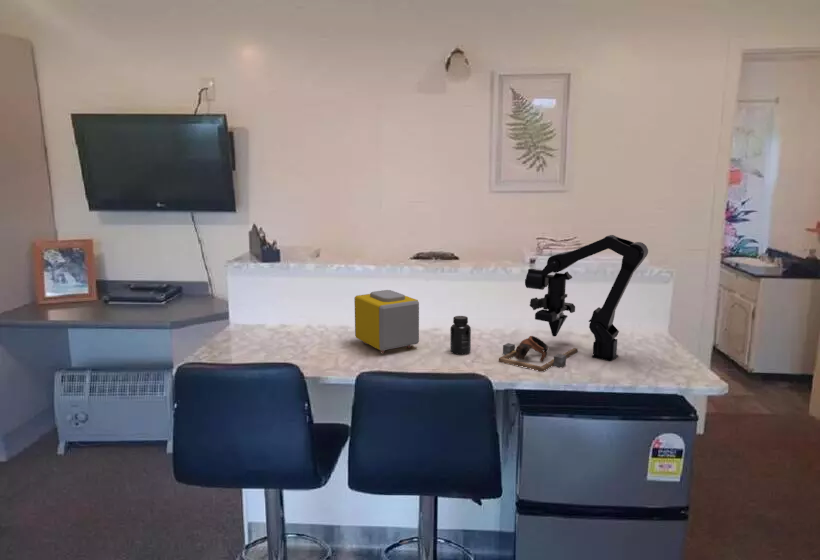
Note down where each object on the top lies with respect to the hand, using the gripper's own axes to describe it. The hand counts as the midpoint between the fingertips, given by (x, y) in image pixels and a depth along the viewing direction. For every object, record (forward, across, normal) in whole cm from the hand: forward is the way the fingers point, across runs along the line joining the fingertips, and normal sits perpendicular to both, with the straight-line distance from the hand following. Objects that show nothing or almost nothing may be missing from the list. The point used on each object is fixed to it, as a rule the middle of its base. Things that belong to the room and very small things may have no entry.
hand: (554, 336), depth 204 cm
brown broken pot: (+5, +15, -2) cm, 16 cm away
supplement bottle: (+5, +23, -23) cm, 33 cm away
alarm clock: (+5, +33, -47) cm, 57 cm away
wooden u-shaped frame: (+4, +11, 0) cm, 12 cm away
